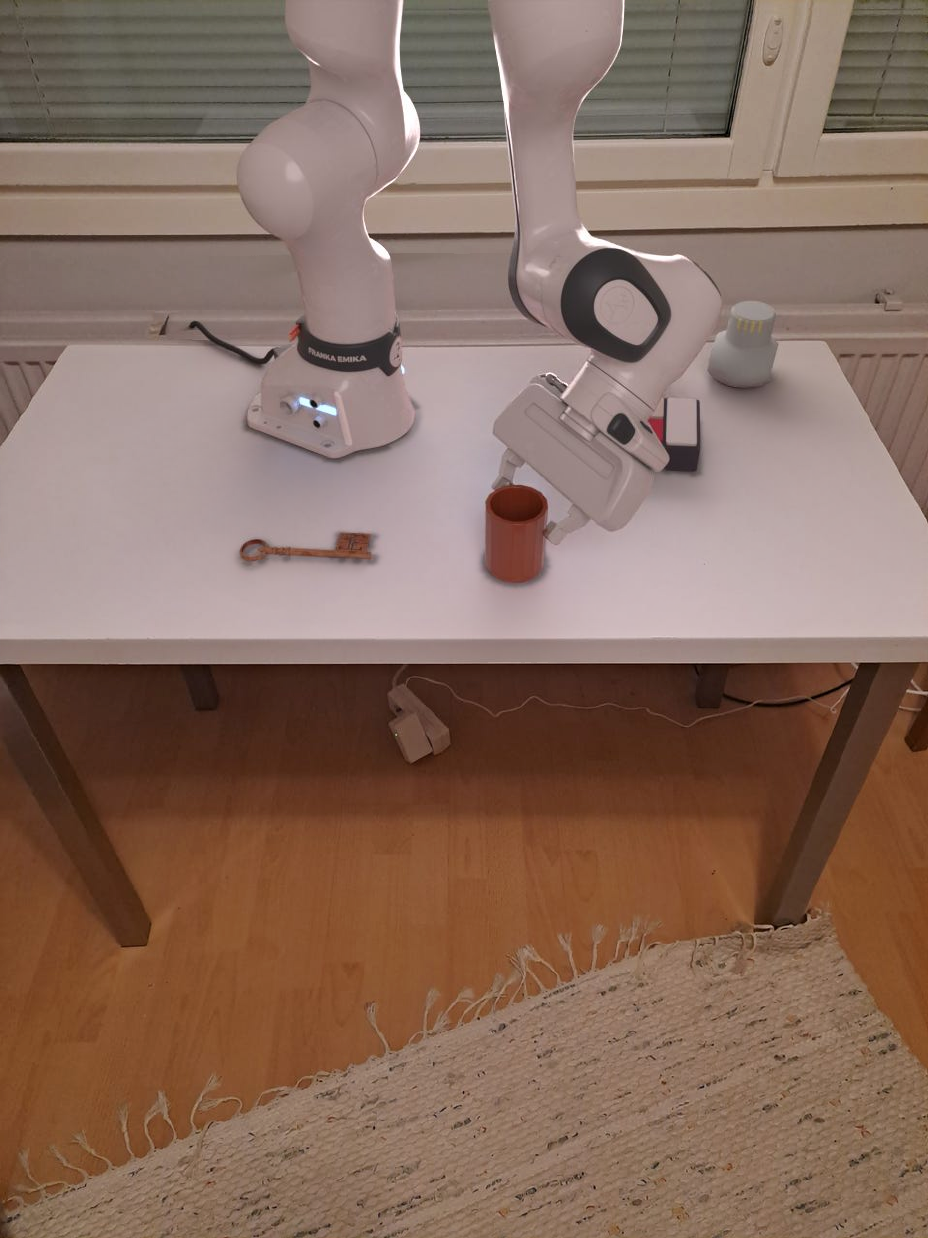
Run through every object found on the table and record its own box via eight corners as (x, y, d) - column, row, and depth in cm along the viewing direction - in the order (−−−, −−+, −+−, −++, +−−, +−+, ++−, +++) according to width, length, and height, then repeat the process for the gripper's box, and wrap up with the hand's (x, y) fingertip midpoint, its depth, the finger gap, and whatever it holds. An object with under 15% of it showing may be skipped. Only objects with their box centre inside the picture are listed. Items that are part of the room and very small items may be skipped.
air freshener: (762, 402, 124) (780, 335, 117) (701, 391, 126) (715, 324, 119) (773, 362, 131) (791, 296, 124) (716, 352, 133) (729, 286, 126)
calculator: (584, 389, 120) (700, 393, 118) (583, 417, 124) (696, 421, 121) (577, 437, 113) (701, 443, 111) (576, 466, 116) (697, 472, 114)
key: (375, 538, 107) (249, 532, 107) (375, 532, 106) (248, 525, 107) (368, 569, 102) (236, 562, 103) (367, 563, 102) (235, 556, 102)
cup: (476, 574, 102) (476, 516, 96) (496, 537, 106) (497, 479, 100) (533, 588, 100) (537, 530, 94) (550, 550, 104) (555, 491, 98)
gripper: (527, 353, 99) (453, 457, 102) (653, 446, 87) (564, 561, 90) (558, 377, 104) (486, 475, 107) (681, 468, 92) (595, 576, 95)
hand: (522, 515), depth 99 cm, fingers open, 8 cm apart
